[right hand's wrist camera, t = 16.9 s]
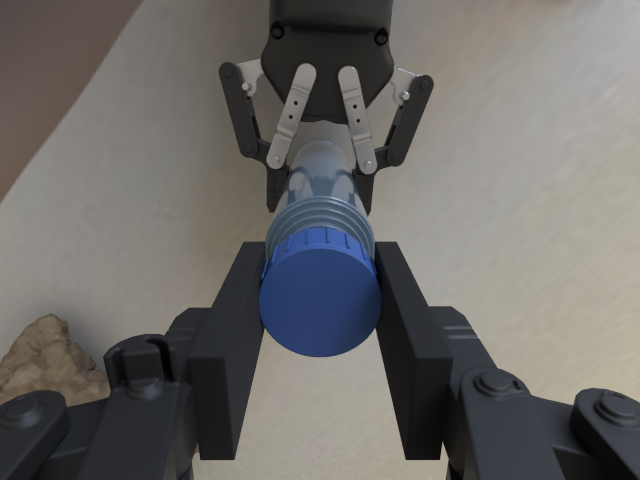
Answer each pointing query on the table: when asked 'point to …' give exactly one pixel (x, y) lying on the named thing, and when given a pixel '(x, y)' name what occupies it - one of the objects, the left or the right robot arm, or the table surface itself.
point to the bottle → (320, 198)
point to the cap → (320, 293)
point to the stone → (51, 366)
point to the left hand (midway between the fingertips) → (318, 218)
